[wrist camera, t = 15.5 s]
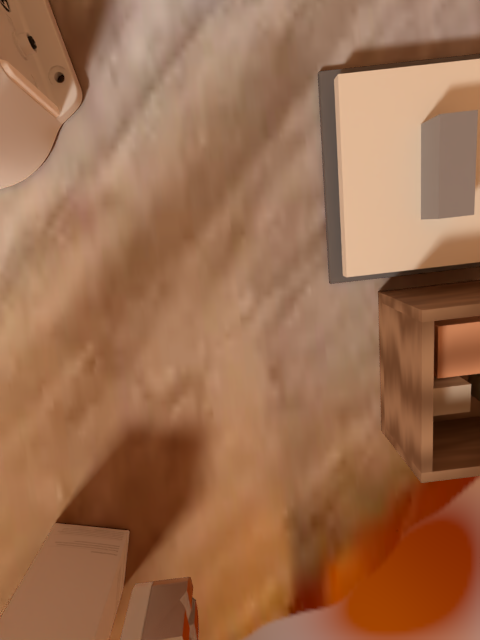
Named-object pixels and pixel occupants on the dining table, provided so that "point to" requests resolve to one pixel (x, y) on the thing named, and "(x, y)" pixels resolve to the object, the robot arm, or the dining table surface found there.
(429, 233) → the lid panel
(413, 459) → the crate
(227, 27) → the dining table surface
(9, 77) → the robot arm
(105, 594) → the supplement box
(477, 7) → the dining table surface
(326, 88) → the mat
